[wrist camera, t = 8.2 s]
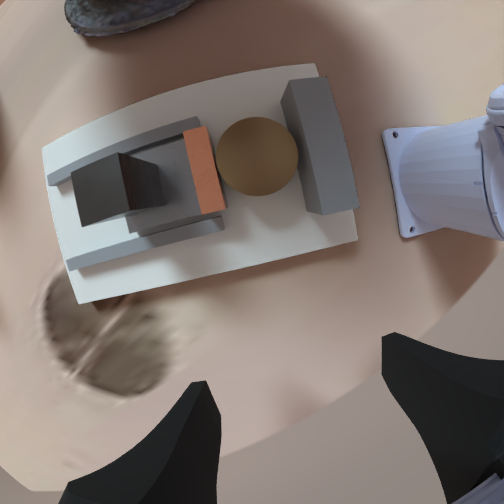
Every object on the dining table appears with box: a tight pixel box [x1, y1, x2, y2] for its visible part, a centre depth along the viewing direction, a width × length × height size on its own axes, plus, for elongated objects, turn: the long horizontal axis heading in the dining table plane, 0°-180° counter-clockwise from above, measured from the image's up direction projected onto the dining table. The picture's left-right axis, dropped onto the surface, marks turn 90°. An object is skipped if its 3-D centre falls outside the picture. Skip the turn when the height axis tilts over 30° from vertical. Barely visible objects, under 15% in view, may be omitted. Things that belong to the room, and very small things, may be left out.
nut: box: [216, 117, 298, 196], centre depth 14 cm, size 4×4×3 cm
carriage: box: [71, 125, 228, 234], centre depth 13 cm, size 6×4×6 cm
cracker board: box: [42, 63, 360, 304], centre depth 15 cm, size 20×12×5 cm, turn 103°
